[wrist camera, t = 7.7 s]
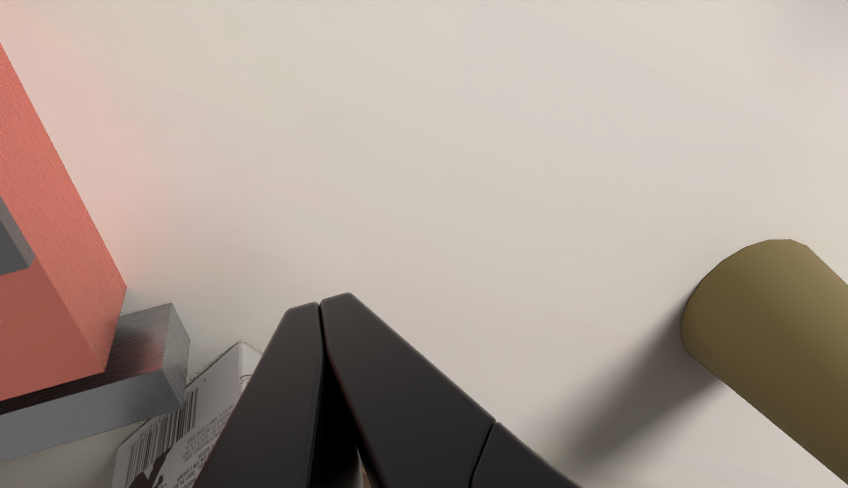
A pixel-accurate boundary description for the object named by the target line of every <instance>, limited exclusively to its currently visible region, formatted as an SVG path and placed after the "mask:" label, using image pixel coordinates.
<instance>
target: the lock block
mask: <svg viewBox="0 0 848 488" xmlns="http://www.w3.org/2000/svg"><path fill="white" fill-rule="evenodd" d="M126 288H127V286H126V284H125V283H124V281H123V279H122V277H121V275H120V273H119V271H118V269H117V267H116V265H115V263H114V261H113V259H112V257H111V256H110V254H109V252H108V250H107V248H106V246H105V244H104V242H103V240H102V238H101V236H100V234H99V232H98V230H97V229H96V227H95V225H94V223H93V221H92V219H91V217H90V215H89V213H88V211H87V209H86V207H85V205H84V203H83V202H82V200H81V198H80V196H79V194H78V192H77V190H76V188H75V186H74V184H73V182H72V180H71V178H70V176H69V175H68V173H67V171H66V169H65V167H64V165H63V163H62V161H61V159H60V157H59V155H58V153H57V151H56V149H55V148H54V146H53V144H52V142H51V140H50V138H49V136H48V134H47V132H46V130H45V128H44V126H43V124H42V122H41V121H40V119H39V117H38V115H37V113H36V111H35V109H34V107H33V105H32V103H31V101H30V99H29V97H28V95H27V94H26V92H25V90H24V88H23V86H22V84H21V82H20V80H19V78H18V76H17V74H16V72H15V70H14V69H13V67H12V65H11V63H10V61H9V59H8V57H7V55H6V53H5V51H4V49H3V47H2V45H1V43H0V401H2V400H5V399H9V398H13V397H16V396H20V395H23V394H27V393H30V392H34V391H37V390H41V389H45V388H48V387H52V386H55V385H59V384H62V383H66V382H69V381H73V380H77V379H80V378H84V377H87V376H91V375H94V374H98V373H101V372H105V368H106V365H107V361H108V357H109V353H110V349H111V345H112V342H113V338H114V334H115V330H116V326H117V323H118V319H119V315H120V311H121V307H122V304H123V300H124V296H125V292H126Z"/></svg>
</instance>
